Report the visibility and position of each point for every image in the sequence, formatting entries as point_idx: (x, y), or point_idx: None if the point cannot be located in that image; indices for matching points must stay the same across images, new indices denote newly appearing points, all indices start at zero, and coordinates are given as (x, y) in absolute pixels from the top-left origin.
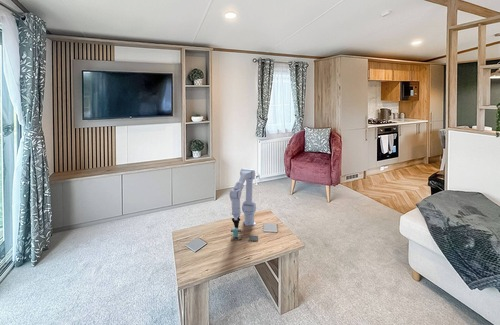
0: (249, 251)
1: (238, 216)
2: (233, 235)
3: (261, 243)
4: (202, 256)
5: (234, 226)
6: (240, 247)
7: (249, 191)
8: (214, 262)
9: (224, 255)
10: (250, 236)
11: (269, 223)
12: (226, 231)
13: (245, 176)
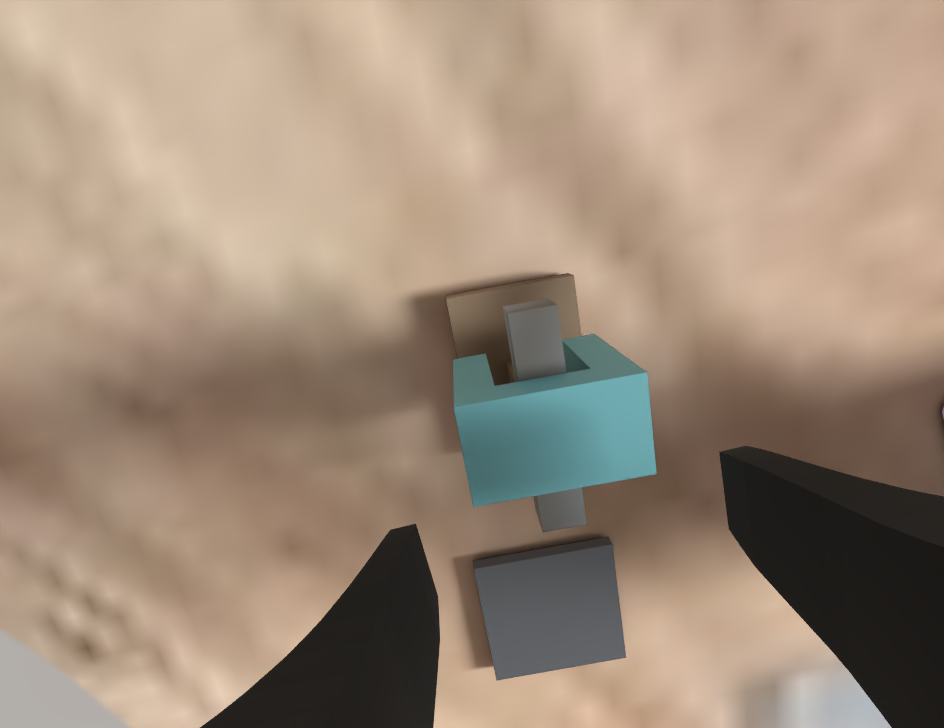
0: (235, 624)
1: (909, 710)
2: (454, 369)
3: (457, 712)
4: None
5: (645, 386)
6: (294, 493)
7: None
8: None
9: (14, 330)
10: (589, 569)
11: None
12: (751, 110)
13: None
